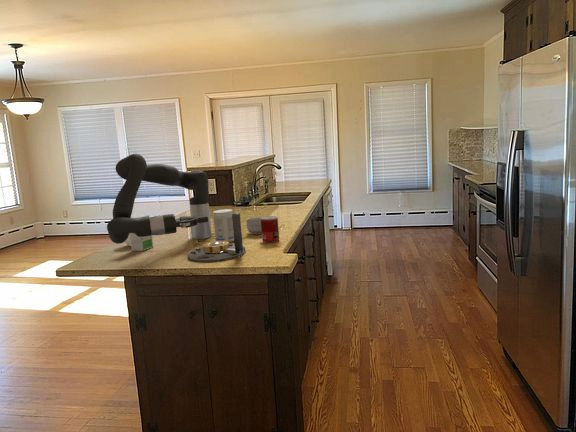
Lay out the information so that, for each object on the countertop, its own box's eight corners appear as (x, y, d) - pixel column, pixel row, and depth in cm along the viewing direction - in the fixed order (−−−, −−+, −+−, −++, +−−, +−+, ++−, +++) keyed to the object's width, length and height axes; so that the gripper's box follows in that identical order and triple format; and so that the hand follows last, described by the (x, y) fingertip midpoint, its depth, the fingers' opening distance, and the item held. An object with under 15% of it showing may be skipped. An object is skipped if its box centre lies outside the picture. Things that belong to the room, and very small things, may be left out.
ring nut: (198, 251, 193) (194, 213, 190) (216, 245, 201) (213, 209, 199) (232, 256, 181) (229, 216, 178) (251, 249, 189) (247, 211, 187)
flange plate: (175, 259, 190) (174, 248, 189) (211, 246, 210) (210, 235, 210) (223, 263, 178) (222, 251, 177) (256, 249, 199) (255, 237, 198)
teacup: (243, 235, 230) (242, 219, 229) (253, 231, 240) (251, 216, 239) (268, 236, 225) (267, 219, 224) (277, 231, 235) (276, 216, 234)
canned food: (277, 242, 209) (275, 218, 208) (260, 242, 211) (258, 219, 209) (280, 238, 217) (279, 215, 215) (264, 239, 218) (262, 216, 217)
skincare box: (142, 251, 210) (138, 217, 207) (130, 251, 212) (126, 217, 209) (153, 247, 217) (150, 214, 215) (142, 246, 220) (138, 214, 217)
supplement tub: (233, 238, 226) (230, 208, 224) (238, 241, 217) (235, 210, 215) (213, 240, 223) (210, 210, 220) (217, 244, 214) (214, 213, 212)
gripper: (162, 218, 171) (209, 212, 176) (161, 212, 183) (204, 207, 188) (165, 237, 172) (211, 231, 177) (163, 231, 185) (206, 225, 189)
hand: (207, 218), depth 183 cm, fingers closed
